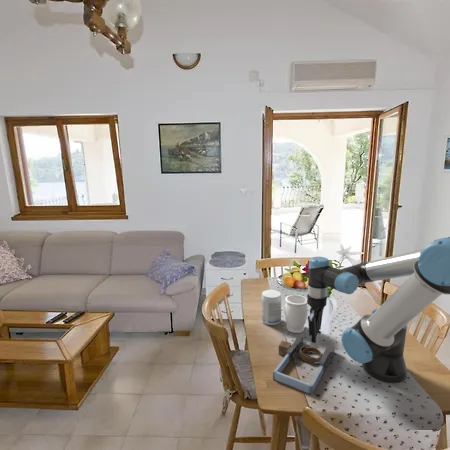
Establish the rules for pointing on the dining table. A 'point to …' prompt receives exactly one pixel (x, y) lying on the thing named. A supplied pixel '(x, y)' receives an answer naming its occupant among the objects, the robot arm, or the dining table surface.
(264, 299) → the supplement tub
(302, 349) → the bracelet
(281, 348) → the brown wooden cube
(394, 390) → the dining table surface
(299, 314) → the jar
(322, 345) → the dining table surface
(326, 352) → the slot rail
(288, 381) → the tray
